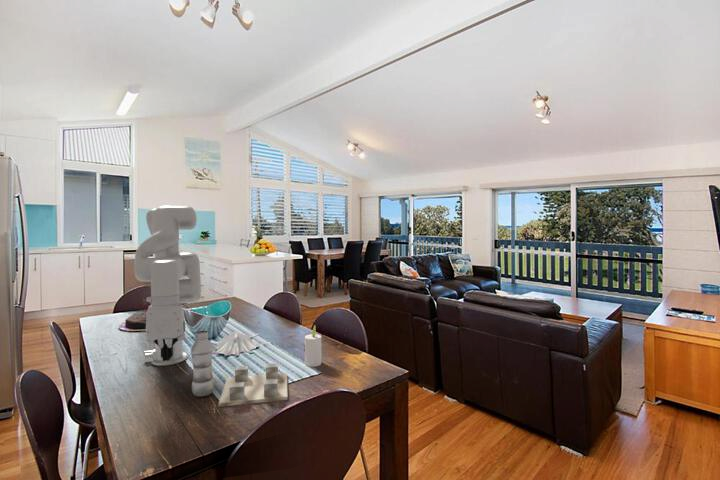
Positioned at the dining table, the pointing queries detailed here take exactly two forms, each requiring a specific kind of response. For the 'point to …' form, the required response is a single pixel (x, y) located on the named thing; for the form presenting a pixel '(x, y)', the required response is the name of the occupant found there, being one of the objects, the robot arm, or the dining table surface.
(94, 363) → the dining table surface
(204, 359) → the plastic bottle
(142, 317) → the chocolate cake
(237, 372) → the cradle
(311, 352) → the candle
